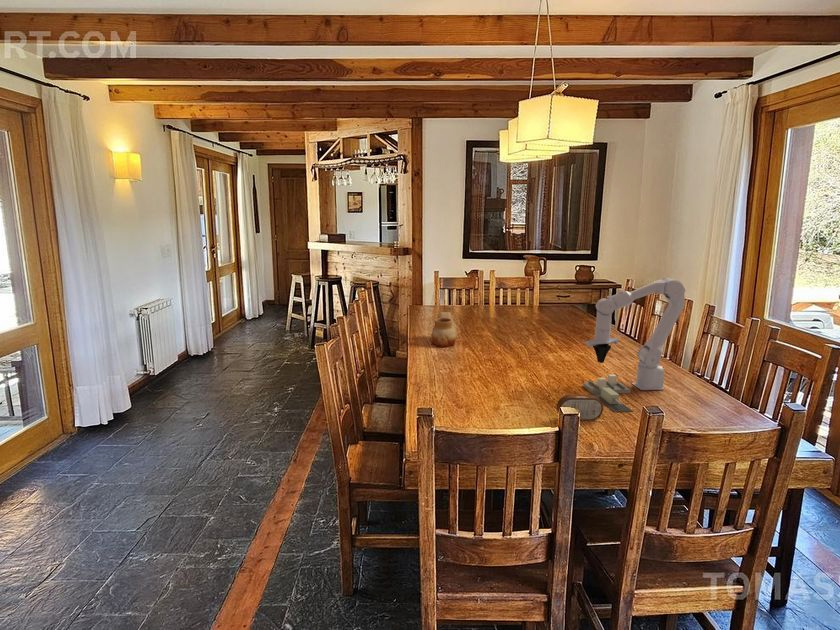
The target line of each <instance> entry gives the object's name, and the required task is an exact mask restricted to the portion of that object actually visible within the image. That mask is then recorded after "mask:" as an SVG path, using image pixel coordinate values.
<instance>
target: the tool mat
mask: <svg viewBox="0 0 840 630" xmlns="http://www.w3.org/2000/svg"><path fill="white" fill-rule="evenodd" d="M592 395H594V396H596V397H598V398H599V400H600V401H601V402H602V404H603V405H604V406H606V407H607V408H608V409H609V410H610V411H612V412H613V413H633V412H634V411H633V409H631V408H630V407H628V406H627V405H626V404H625V403H623V402H622V401H620V402H621V403H622V406H620V405H619V404H609V403H608V402H607V401H606V400H605V399H603V398H602V397H601V394H592Z"/></svg>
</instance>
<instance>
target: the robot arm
mask: <svg viewBox="0 0 840 630" xmlns="http://www.w3.org/2000/svg"><path fill="white" fill-rule="evenodd" d="M685 292H686V287H684V284H683V283H682V281H680V280H678V279H673V278H671V277H664V278H662V279H657V280H655V281H652V282H650V283H648V284H646V285H643V286H641V287H639V288H637V289H634V290H632V291H627V290H624V291H623V290H619V291H618V293H616V294H613V295H607V296H606V297H607V298H605V297H604V298H600V299H598V301H597V302H596V304H595V309H596V317H595V318H596V320H595V331H594V332H595V333H594V338H592V339H590V340H586V341H585V346H586V347H588V348H590V347H593V349H594V351H595V355H596V360H597V363H600V364H603V363H605V360H606V358H607V355H608V353H609V351H610V350H611V349H612V346H611V344H615V345H618V344H619V339H618V338H616V337H611V329H612V314H613V313H614V311H617V310H619V309H623V308H624V307H627V306H629V305H632V304H633V302H634V301H635V300H637V299H640V298H643V297H646V296H648V295H651V294H660V295H664V297H665V299H666V301H667V303H668V305H667V306H666V308H665V310H664V312H663V315H662V316H661V318H660V320H659V322H658V324H657V325H656V327H655V328H654V331H653V333H652V335H651V336H650V338H649V340H647V341H646V342H645V343H644V344H643V346H641V347H640V348H639V349H638V351H637V358H638V359H639V361H638V363H637V371H636V372H637V373H636V382H631V384H632V385H633V386H635V388H638V389H639V390H641V391H652V390H654V391H658V390H659V391H661V390H665V388H664V381H665V370H664V369H665V368H663V366H662V365H660V363H661V357H662V354H663V346H664V344H665V343H666V341H667V339H668V338H669V336H670V333H671V332H672V330H673V328H674V326H675V324H676V323H677V321H678V318H679V317H680V315H681V314H682V312H683V310H684V308H685V306H686V302H685V301H686V299H685V298H686V296H685Z"/></svg>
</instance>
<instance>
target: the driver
mask: <svg viewBox="0 0 840 630" xmlns="http://www.w3.org/2000/svg"><path fill="white" fill-rule="evenodd" d="M601 397H602V398H603V399H605V400H606V401H607V402H608V403H609V404H619V405H620V406H622V403H623V402H622V401H621V400H619V399H620V393H616V392H615V391H613V390H612V389H611V388H601ZM621 402H622V403H621Z"/></svg>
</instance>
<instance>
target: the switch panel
mask: <svg viewBox="0 0 840 630" xmlns="http://www.w3.org/2000/svg"><path fill="white" fill-rule="evenodd" d="M616 383H617V385H611V384H610V383H608V382H607V380H606V386H607V387H606V388H611V389H612V390H613V391H615V392H616V393H617V394H631V388H629V387H628V386H626V385H625V384H623V383H622V382H620V381H617V380H616ZM582 387H583V388H585V389H586V390H587V391H588V392H589V393H590V394H591V395H593V394H601V389H599V386H597V381H596V382H594V381H592V380H588V381H587V382H583V383H582Z"/></svg>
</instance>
